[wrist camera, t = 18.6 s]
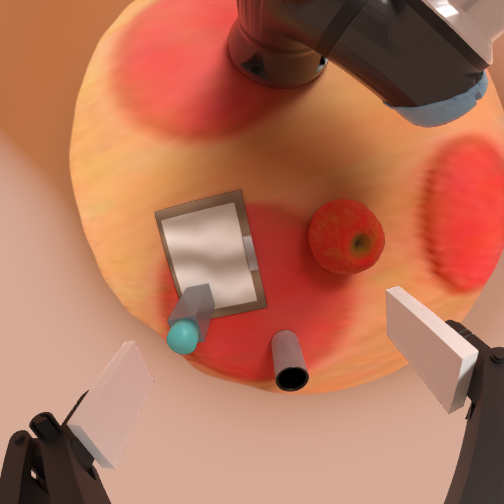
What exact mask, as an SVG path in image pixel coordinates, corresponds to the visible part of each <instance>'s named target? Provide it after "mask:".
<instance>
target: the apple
mask: <svg viewBox="0 0 504 504" xmlns="http://www.w3.org/2000/svg"><path fill="white" fill-rule="evenodd" d="M308 241H309V245H310V249H311V251H312V253H313V255H314V257H315V259H316V260H317V262H318V263H319V264H320V265H321V266H322V267H323V268H324V269H326V270H328V271H330V272H332V273H335V274H343V275H349V274H355V273H359V272H361V271H364V270H366V269H368V268H370V267H371V266H373V265H374V264H375V263H376V261H377V260H378V259H379V257H380V255H381V253H382V251H383V248H384V244H385V236H384V232H383V229H382V226H381V224H380V222H379V221H378V220H377V218H376V217H375V215H374V214H373V213H372V212H371V211H370V210H369V209H368V208H367V207H366V206H365V205H364V204H362V203H360V202H357V201H352V200H347V199H340V200H335V201H331V202H328V203H327V204H325V205H323V206H321V207H320V208H319V210H318V211H317V212H316V213H315V214H314V216H313V218H312V221H311V224H310V227H309V233H308Z"/></svg>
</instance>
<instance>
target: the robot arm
mask: <svg viewBox="0 0 504 504" xmlns="http://www.w3.org/2000/svg"><path fill="white" fill-rule="evenodd" d="M237 8H238V17H237V19H236V20H235V22H234V23H233V25H232V27H231V29H230V32H229V37H228V46H229V52H230V56H231V59H232V61H233V63H234V64H235V66H236V67H237V68H238V70H239V71H240V72H241V73H242V74H244V75H245V76H246V77H248V78H249V79H251V80H253V81H254V82H257V83H259V84H262V85H265V86H269V87H274V88H292V87H297V86H301V85H304V84H306V83H309V82H310V81H312V80H314V79H315V78H316V77H317V76H318V75H320V73H321V72H322V71H323V70H324V68H325V66H326V65H327V63H328V61H331V62H332V63H334V64H335V65H337V66H338V67H339V68H341V69H342V70H344V71H345V72H347V73H348V74H349V75H351V76H352V77H353V78H355V79H356V80H357V81H359V82H360V83H361V84H363V85H364V86H365V87H367V88H368V89H369V90H370V91H372V92H373V93H374V94H375V95H377V96H378V97H379V98H380V99H381V100H382V102H383V103H384V104H385V105H386V106H388V107H389V108H391V109H394V110H395V111H396V112H398V113H399V114H400V115H401V116H402V117H404V118H405V119H406V120H407V121H408V122H410V123H412V124H414V125H417V126H422V127H437V126H441V125H444V124H447V123H450V122H452V121H454V120H456V119H458V118H460V117H461V116H463V115H465V114H466V113H467V112H469V111H470V110H471V109H472V108H473V107H474V106H475V105H476V104H477V103H476V100H478V99H481V98H482V97H483V96H484V94H485V92H486V90H487V85H488V79H487V76H486V72H485V70H484V69H486V68H487V67H488V66H490V65H491V64H492V63H493V54H492V44H493V41H494V40H495V39H496V38H497V37H499V36H500V35H501V34H502V33H503V32H504V0H237ZM386 311H387V336H388V337H389V338H390V340H391V341H392V342H393V343H394V345H395V346H396V347H397V348H398V350H399V351H400V352H401V353H402V355H403V356H404V357H405V358H406V360H407V361H408V362H409V363H410V365H411V366H412V367H413V368H414V370H415V371H416V372H417V373H418V375H419V376H420V377H421V379H422V380H423V381H424V382H425V384H426V385H427V386H428V388H429V389H430V390H431V392H432V393H433V394H434V396H435V397H436V398H437V400H438V401H439V402H440V404H441V405H442V406H443V408H444V409H445V410H446V411H447V413H448V414H450V413H452V412H454V411H456V410H457V409H459V408H461V407H463V406H464V403H465V400H466V397H467V396H468V397H469V398H470V400H471V401H472V402H471V405H470V407H469V410H468V413H467V416H466V418H465V419H468V420H467V425H466V430H465V435H464V439H463V444H462V448H461V452H460V455H459V459H458V463H457V466H456V470H455V473H454V476H453V479H452V482H451V485H450V488H449V491H448V494H447V497H446V499H445V502H444V504H504V348H503V347H495V348H492V349H491V348H490V347H489V346H488V345H486V344H485V343H484V342H483V341H482V340H480V339H479V338H478V337H476V336H475V335H474V334H472V332H470V331H469V330H467V329H466V328H465V327H464V326H463V325H461V324H460V323H458V322H455V321H453V320H448V321H445V322H444V321H443V320H441V319H440V318H439V317H438V316H436V315H435V314H434V313H433V312H432V311H430V310H429V309H428V308H426V307H425V306H424V305H423V304H421V303H420V302H419V301H418V300H416V299H415V298H414V297H412V296H411V295H410V294H409V293H407V292H406V291H405V290H403V289H402V288H401V287H399V286H396V287H392V288H389V289H386ZM153 382H154V379H153V377H152V375H151V373H150V371H149V369H148V367H147V365H146V362H145V360H144V358H143V356H142V354H141V352H140V349H139V347H138V345H137V342H136V340H135V341H126V342H123V344H122V345H121V346H120V348H119V349H118V351H117V352H116V353H115V355H114V356H113V358H112V359H111V360H110V362H109V363H108V364H107V366H106V367H105V369H104V370H103V371H102V373H101V374H100V376H99V377H98V378H97V380H96V381H95V383H94V384H93V386H92V387H91V388H90V390H88V391H87V392H85V393H84V394H83V395H82V396H81V397H80V399H79V400H78V401H77V404H76V405H75V406H74V407H73V410H71V412H70V413H69V415H68V416H67V418H66V419H65V421H64V422H63V423H62V425H61V426H60V425H59V423H58V422H57V421H56V419H55V418H54V416H53V415H52V414H51V413H49V412H43V413H40V414H38V415H36V416H35V417H34V418H33V419H32V420H31V422H30V424H29V427H30V428H31V430H32V431H33V432H34V433H35V435H36V436H37V437H38V438H32V437H31V435H30V434H29V433H28V432H27V431H25V430H21V431H17V432H16V433H14V434H13V435H12V437H11V438H10V440H9V444H8V448H7V451H6V455H5V459H4V463H3V468H2V472H1V477H0V504H111V502H110V500H109V498H108V496H107V494H106V491H105V489H104V488H103V485H102V482H101V480H100V478H99V475H98V473H97V470H96V469H95V467H94V466H93V465H92V463H93V461H94V459H95V460H96V461H97V462H98V463H99V464H100V466H101V467H104V468H110V469H116V468H117V466H118V463H119V461H120V458H121V456H122V453H123V451H124V449H125V446H126V444H127V442H128V439H129V437H130V434H131V432H132V430H133V427H134V425H135V423H136V420H137V418H138V416H139V413H140V411H141V409H142V407H143V404H144V402H145V400H146V398H147V395H148V393H149V391H150V389H151V386H152V384H153ZM31 470H32V471H33V472H34V473H35V474H36V479H35V478H33V477H32V476H31Z"/></svg>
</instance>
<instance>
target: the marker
mask: <svg viewBox="0 0 504 504" xmlns="http://www.w3.org/2000/svg"><path fill="white" fill-rule="evenodd" d="M214 307H215V303H214V300H213V296H212V293H211V289H210V286H209V283H207V284H202V285H197V286H192V287H187V288H186V289H185V291H184V292H183V294H182V296H181V297H180V299H179V301H178V303H177V304H176V306H175V308H174V309H173V311H172V313H171V314H170V316H169V318H168V320H167V321H168V324H169V326H170V331H169V333H168V335H167V343H168V345H169V347H170V348H171V349H172V350H173V351H175V352H176V353H179V354H189V353H191V352H193V351H194V350H195V348H196V345H197V343H199V342H205V338H206V335H207V331H208V328H209V324H210V321H211V317H212V314H213V310H214Z"/></svg>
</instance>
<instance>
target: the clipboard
mask: <svg viewBox="0 0 504 504" xmlns="http://www.w3.org/2000/svg"><path fill="white" fill-rule="evenodd" d="M155 216H156V220H157V224H158V228H159V231H160V235H161V239H162V242H163V246H164V250H165V253H166V257H167V260H168V264H169V267H170V270H171V274H172V277H173V280H174V283H175V287H176V290H177V293H178V296H179V299H180V297H181V296H182V294H183V292H184V291H185V289H186V288H187V287H192V286H197V285H202V284H207V283H209V286H210V289H211V293H212V296H213V300H214V303H215V307H214V310H213V314H212V317H211V318H216V317H221V316H227V315H232V314H237V313H242V312H247V311H252V310H257V309H262V308H267V302H266V298H265V293H264V289H263V285H262V280H261V276H260V271H259V267H258V263H257V258H256V254H255V249H254V245H253V241H252V236H251V232H250V227H249V223H248V219H247V214H246V210H245V206H244V201H243V197H242V192H241V190H238V191H234V192H229V193H225V194H221V195H217V196H213V197H209V198H205V199H201V200H197V201H193V202H189V203H185V204H181V205H178V206H174V207H170V208H166V209H163V210H159V211H156V212H155Z"/></svg>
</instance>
